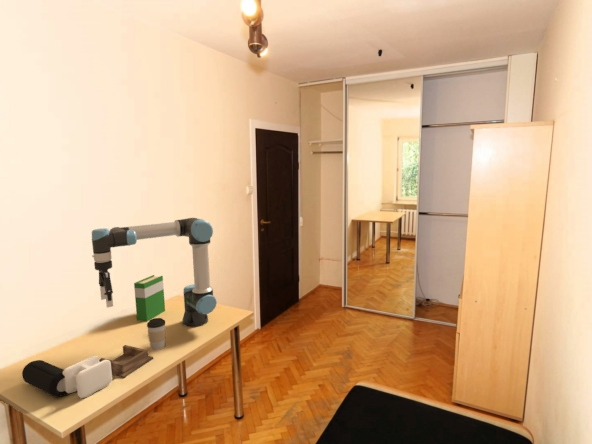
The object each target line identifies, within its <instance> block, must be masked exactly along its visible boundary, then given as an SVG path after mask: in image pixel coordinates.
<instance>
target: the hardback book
mask: <svg viewBox="0 0 592 444" xmlns="http://www.w3.org/2000/svg"><path fill="white" fill-rule="evenodd" d="M133 287H134V297H135V298H134V299H135V309H136V310H135V312H136V321H140V322H149V321H150V320H151V319H154V318H157V317H158V316H159V315H160V314H162V313H164V312H165V311H166V306H165V305H166V304H165V291H164V277H163V275H160V276H155V274H154V275H153V274H152V275H150V276H147V277H145V278H143V279H141V280H138V281H136V282H134V283H133Z"/></svg>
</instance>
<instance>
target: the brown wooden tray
mask: <svg viewBox="0 0 592 444" xmlns="http://www.w3.org/2000/svg"><path fill="white" fill-rule="evenodd" d="M122 351H123V353H122V354H120V355H118V356H117V357H115V358H113V359H108V358H105V357H100V358H99V361H100V362H101V361H103V360H109V361H110V362H111V371H112V376H115V377H118V378H122V379H125V378H126V377H127V376H130V375H131V374H132V373H134V372H136V371H137V370H138V369H140V368H142V367H144V365H146V364H147V363H149V362H151V361H152V360H154V356H152V355H151V356H150V355H149V350H148V349H144V348H141V347H136V346H131V345H126V344H125V345H123V346H122Z"/></svg>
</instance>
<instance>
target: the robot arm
mask: <svg viewBox="0 0 592 444" xmlns="http://www.w3.org/2000/svg"><path fill="white" fill-rule="evenodd" d="M213 234H214V229H213V226H212V224H211V223H210V221H209V222H208V221H207V220H205V219H203V218H197V217H188V218H187V217H186V218H182V219H176V220H174V221H172V222H161V223H152V224H142V225H141V224H140V225H134V226H133V225H132V226H124V227H123V226H122V227H121V226H120V227H119V226H114V227H112V228H111V229H109V228H104V227H103V228H95V229H93V230H91V244H92V251H93V255H91V256H92V258H93V261H94V263H93V264H94V265H93V266H94V269H95V271H98V284H99V289H100V291H99V292H100V299H101V301H102V300H104V301H105V304H106V308H107V309H108V308H111V307H114V302H113V299H114V298H113V293H114V291H113V287H112V286H113V285H112V281H111V273H110V272H109V270H110V269H112V268H113V261H112V259H113V257H112V249H111V248H117V247H125V246H134V245H136V244H137V240H146V239H155V238H164V237H171V236H176V237H187V238H188V243H189V245H190V246H191V247H192V250H191V252H192V265H193V268H192V269H193V281H194V282H193V283H194V284H190V285H189V284H188V285H185V286H184V288H183V291H182V292H183V302H184V303H183V305H184V311H183V312H184V313H183V315H182V325H183V326H184V327H191V328H194V327H201V326H203V325H206V324H207V323H208V322H209V316H208V314H210V313H212V312H213V311H214V310H215V309H216V307H217V303H218V301H217V298H216V297H215V296H214V288H213V287H212V286H211V282H210V281H211V280H210V279H211V278H210V264H209V263H210V262H209V258H210V257H209V245H210V244H211V238H212V237H213Z"/></svg>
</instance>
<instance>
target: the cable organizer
mask: <svg viewBox="0 0 592 444" xmlns="http://www.w3.org/2000/svg"><path fill="white" fill-rule="evenodd" d="M99 359H100V357H99V356H97V355H92V356H89V357H87V358H85V359H83V360H81V361H79V362H76V363H74V364H72V365H70V366H68V367H66V368H64V369H63V370H64V371H63V373H62V374H63V375H64V376H65V377H64V378H63V380H64V388H65V391H66V392H67V393H68V394H72V393H75V392H76V393H77V396H78V397H79V398H80V399H85V398H88V397H90V396H92V395H93V394H94V393H96V392H98V391H100V390H102V389H104V388H106V387H108V385H110V384H111V383H112V381H113V375H112V371H111V362H110V361H109V360H110V359H109V360H103V361H101V362H100V361H99Z"/></svg>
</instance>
